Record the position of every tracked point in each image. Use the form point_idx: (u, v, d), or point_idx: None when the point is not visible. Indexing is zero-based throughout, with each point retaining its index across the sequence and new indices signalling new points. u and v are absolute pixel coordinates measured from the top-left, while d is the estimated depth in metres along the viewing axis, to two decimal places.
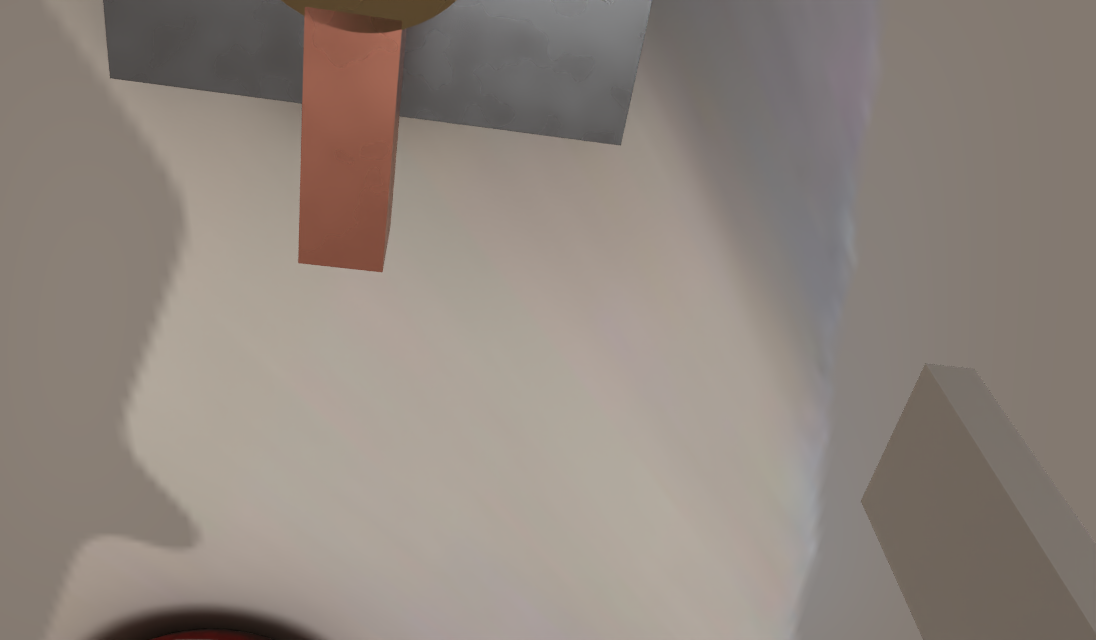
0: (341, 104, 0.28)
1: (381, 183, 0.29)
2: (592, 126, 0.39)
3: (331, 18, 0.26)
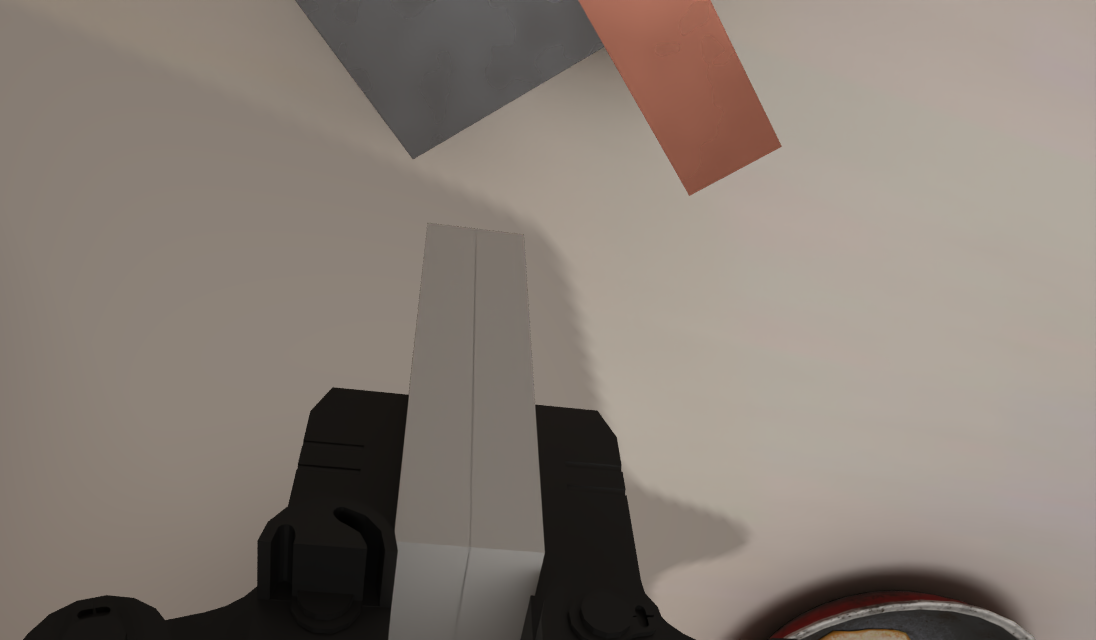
0: None
1: (722, 49, 0.23)
2: None
3: None
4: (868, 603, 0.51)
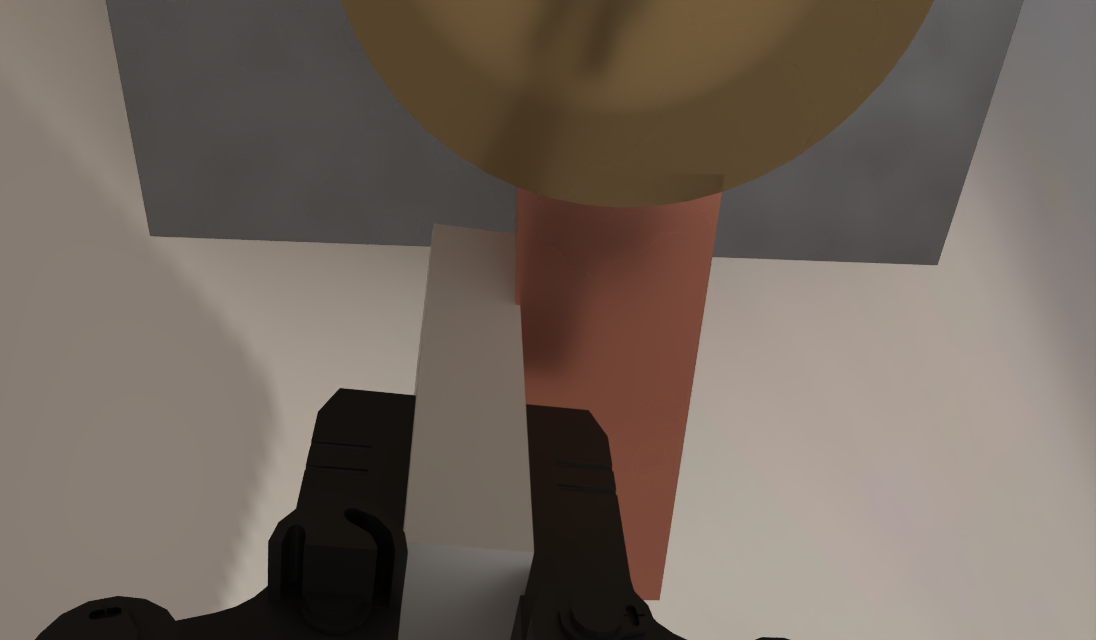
0: (592, 341, 0.14)
1: (664, 465, 0.15)
2: (895, 241, 0.25)
3: (575, 185, 0.12)
4: None
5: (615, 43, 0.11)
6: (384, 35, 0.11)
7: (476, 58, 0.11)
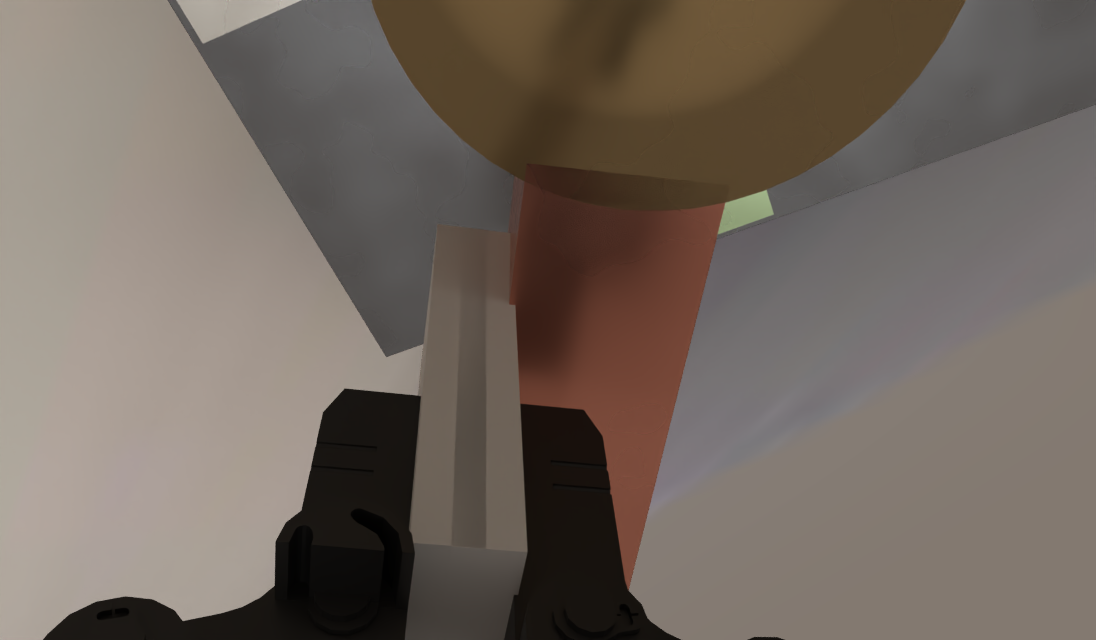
0: (582, 342, 0.14)
1: (642, 473, 0.15)
2: (385, 311, 0.25)
3: (580, 184, 0.12)
4: None
5: (634, 44, 0.11)
6: (404, 16, 0.11)
7: (493, 47, 0.11)
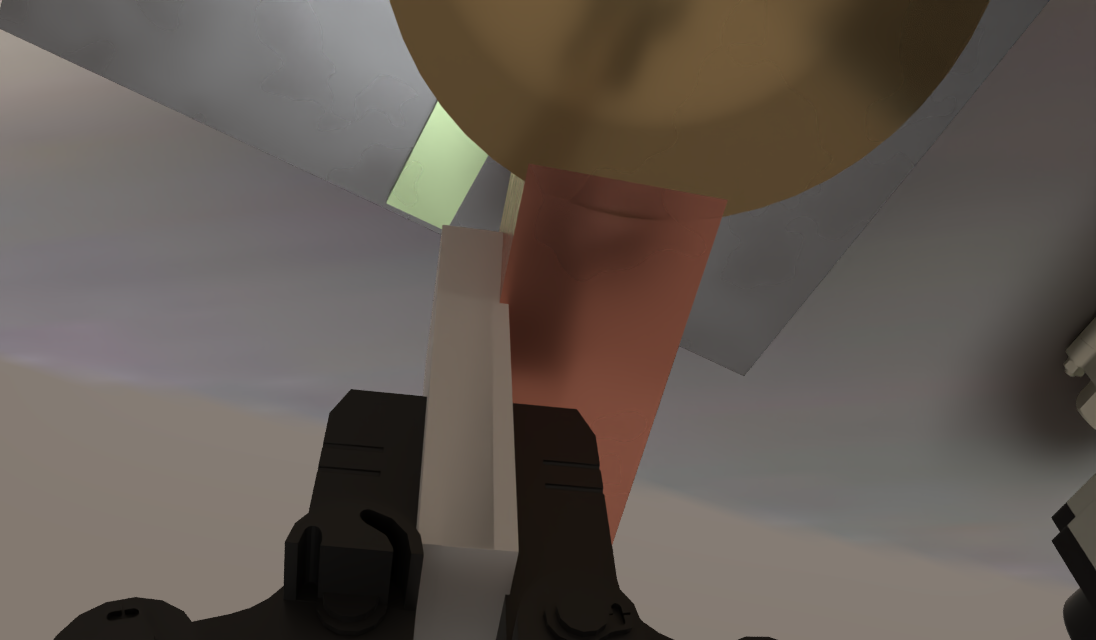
0: (569, 346, 0.14)
1: (617, 480, 0.15)
2: None
3: (581, 188, 0.12)
4: None
5: (646, 54, 0.11)
6: (419, 7, 0.11)
7: (505, 46, 0.11)
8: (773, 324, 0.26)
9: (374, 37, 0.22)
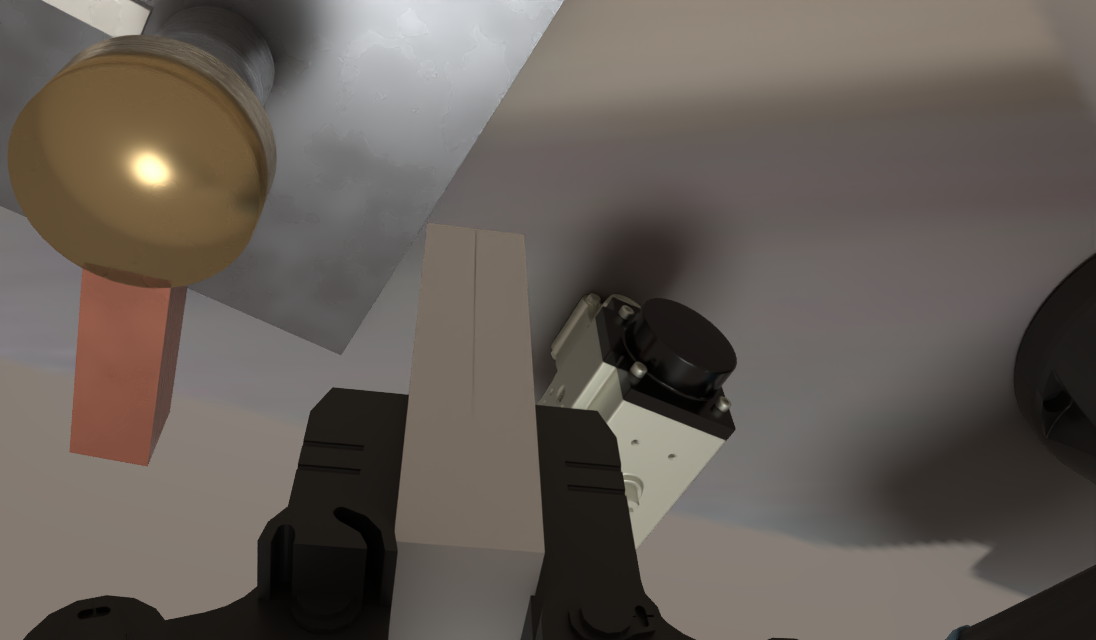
0: (113, 336, 0.31)
1: (148, 399, 0.33)
2: None
3: (107, 272, 0.30)
4: None
5: (124, 225, 0.29)
6: (28, 202, 0.28)
7: (66, 217, 0.29)
8: (352, 324, 0.44)
9: None
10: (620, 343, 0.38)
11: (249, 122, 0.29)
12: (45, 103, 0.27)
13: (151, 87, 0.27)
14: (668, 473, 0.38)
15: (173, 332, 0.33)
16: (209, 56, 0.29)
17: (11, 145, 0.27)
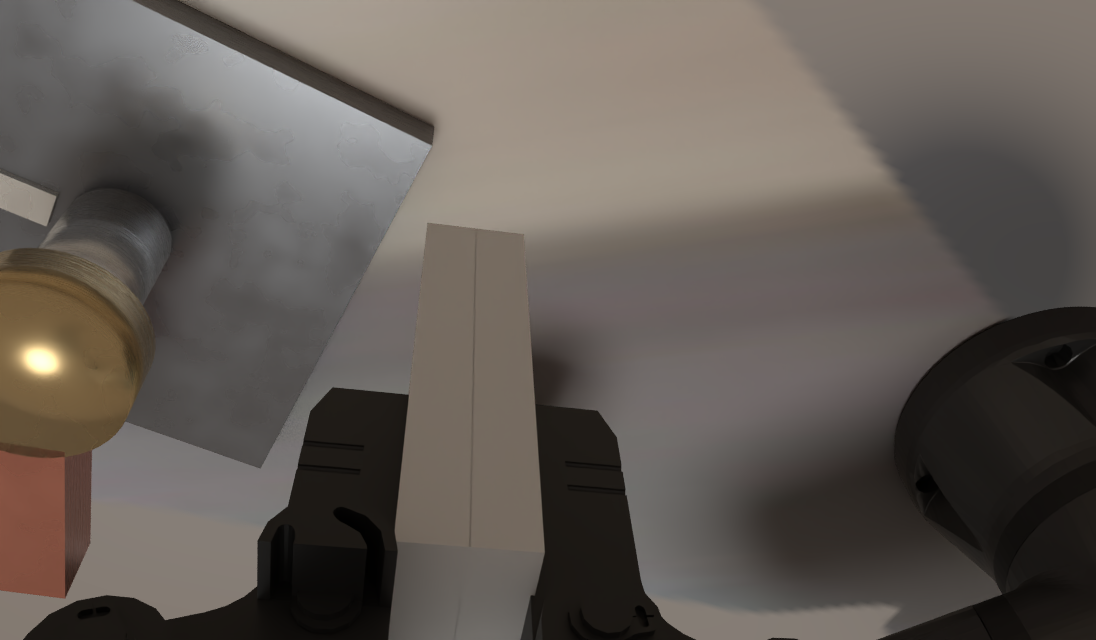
0: (21, 497, 0.36)
1: (58, 545, 0.38)
2: None
3: (8, 447, 0.35)
4: None
5: (18, 410, 0.34)
6: None
7: None
8: (267, 442, 0.49)
9: None
10: None
11: (119, 319, 0.34)
12: None
13: (25, 305, 0.32)
14: None
15: (79, 484, 0.38)
16: (84, 263, 0.34)
17: None
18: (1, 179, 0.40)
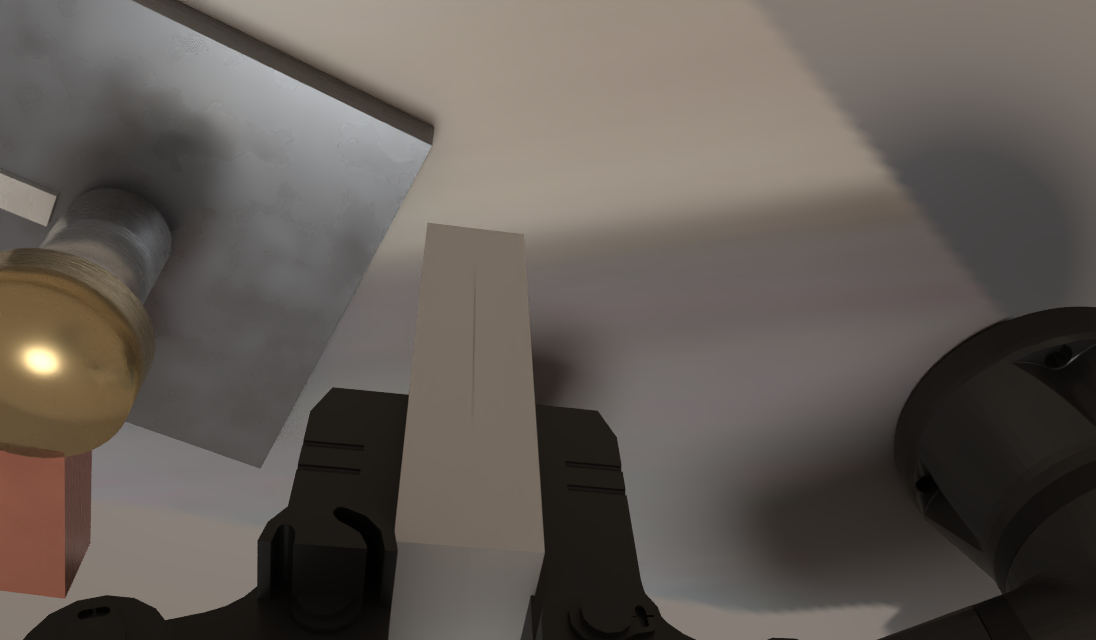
0: (21, 497, 0.36)
1: (58, 545, 0.38)
2: None
3: (8, 447, 0.35)
4: None
5: (18, 410, 0.34)
6: None
7: None
8: (267, 442, 0.49)
9: None
10: None
11: (119, 319, 0.34)
12: None
13: (25, 305, 0.32)
14: None
15: (79, 484, 0.38)
16: (84, 263, 0.34)
17: None
18: (1, 179, 0.40)
